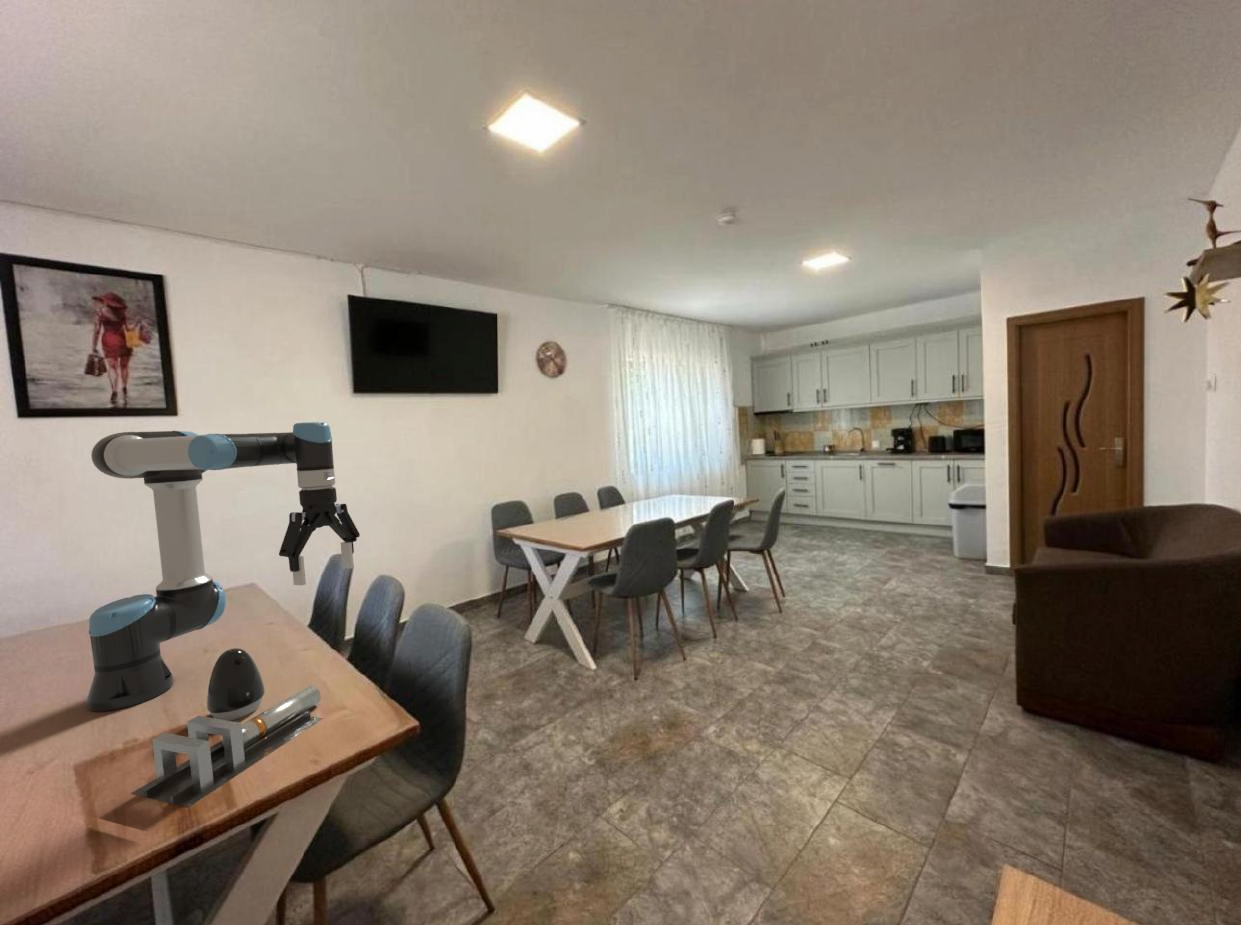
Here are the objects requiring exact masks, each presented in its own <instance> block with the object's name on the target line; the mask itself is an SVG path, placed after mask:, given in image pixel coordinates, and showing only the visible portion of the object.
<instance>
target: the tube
mask: <svg viewBox="0 0 1241 925" xmlns="http://www.w3.org/2000/svg"><path fill="white" fill-rule="evenodd" d="M321 698H322V697H321V692H320V690H319V688H317V687H316V686H315V685H308V686H307V687H305V688H303V689H302V690H300V691H298V692H296V693H294V694H293V695H291V696H289V697H287V698H286V699H284V700H282V701H280V702H278V703H277V704H274V706H271V707H269V708H267V709H266V710H265V711H262V712H261V713H259V714H257V715H256V716H254V717H252V718H250V719H249V720H246V721H245V722H244V723H241V727H242V737H243V747H244V749H245V748H247V747H249V746H250V745H252V744H253V743H255V742H257V741H258V740H260V739H262V738H263V737H265V736H266V735H268V734H270V733H271V732H273V731H274V730H276V729H278V728H279V727H281V726H283V725H284V724H286V723H287V722H289V721H291V720H292V719H294V718H295V717H297V716H299V715H301V714H303V713H304V712H306V711H309V710H310V709H311V708H313V707H314V706H315V707H316V705H318V704H319V703H320V702H321ZM221 741H222V743H223V738H222V739H221ZM223 747H224V743H223Z"/></svg>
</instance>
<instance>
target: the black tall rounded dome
mask: <svg viewBox="0 0 1241 925" xmlns="http://www.w3.org/2000/svg"><path fill="white" fill-rule="evenodd" d="M265 690H266V689H265V685H264V682H263V678H262V675H261V673H260V671H259V669H258V666H257V664H256V662H255V660H254V659H253V657H252V656H251V655H250V654H249V652H247V651H246V650H245V649H243V648H230V649H227V650H225V651H224V652H223V653H221V654H220V656H219V657H218V658H217V660H216V662H215V663H214V666H213V668H212V671H211V675H210V678H209V683H208V688H207V697H206V710H207V711H208V712H209V713H210V715H211V716H212V718H215V719H221V720H227V721H235V720H238V719H241V718H244V717H247V716H248V715H250V714H252V713H253V712H255V711H256V710H258V709H259V707H260V705H261V704H262V701H263V698H264V695H265V692H266V691H265Z"/></svg>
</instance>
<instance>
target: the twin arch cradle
mask: <svg viewBox="0 0 1241 925" xmlns="http://www.w3.org/2000/svg"><path fill="white" fill-rule="evenodd" d="M323 719H324V717H323V718H322V717H317V716H312V714H311V711H310V710H307V711H305V712H304V713H302V714H300V715H299V716H297V717H295V718H294V719H292V720H291V721H289V722H287V723H286V724H284V725H283V726H281V727H279V728H278V729H276V730H274V731H273V732H271V733H270V734H268V735H266V736H265V737H263V738H262V739H260V740H258V741H257V742H255V743H253V744H252V745H250V746H249V747H247V748H245V749H244V747H243V737H242V727H241V725H242V722H238V721H234V720H231V721H227V720H221V719H215V718H213V717H207V716H203V715H198V716H194V718H191V719H190V720H187V721H186V725H187V732H188V733H187V734H188V735H187V736H184V735H180V734H174V733H168V732H164V733H162V734H160V735H158V736H156V737H155V738H152V739H151V740H152V748H153V750H152V751H153V758H154V766H155V776H156V778H155V779H153V780H151V781H150V782H148V783H146V784H145V785H143V786H142V787H139V788H137V789H136V790H134V791H133V792H131V793H130V794H132V795H136V796H139V797H144V798H148V799H153V800H156V801H160V802H164V803H168V804H171V805H176V806H180V807H184V808H191V806H193V805H194V804H196V803H197V802H200V800H202V799H203V798H205V797H207V796H208V795H209V794H211V793H213V792H214V791H216V790H217V789H219V788H221V787H222V786H223V785H225V784H226V783H228V782H230V781H231V780H232V779H234V778H235V777H237V776H238V775H240V774H241V773H243V772H244V771H246V770H248V769H249V768H251V767H252V766H254V765H255V764H256V763H258V762H260V761H261V760H262V759H264V758H265V757H267V756H269V755H270V754H272V753H274V752H275V751H276V750H278V749H279V748H281V747H282V746H283V745H285V744H287V743H289V742H290V741H291V740H293V739H294V738H295V737H297V736H299V735H300V734H302V733H303V732H305V731H306V730H308V729H310V728H311V727H312V726H314V725H316V724H318V722H320V721H322V720H323ZM209 734H210V735H211V734H212V735H217V736H222V739H223V743H224V747H223V743H222V740H220V741H218V742H217V743H215V744H213V745H212V746H210V745H211V744H210V741H209V740H210V738H209ZM176 753H179V754H182V755H183V754H184V755H188V756H189V759H188V760H186V761H184V762H182V763H180V764H179V765H177V758H176Z"/></svg>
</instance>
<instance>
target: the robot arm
mask: <svg viewBox="0 0 1241 925" xmlns="http://www.w3.org/2000/svg"><path fill="white" fill-rule="evenodd" d="M333 450H334V449H333V438H332V432H331V426H330V425H329V423H327V422H325V421H324V422H323V421H316V422H314V421H313V422H312V421H311V422H310V421H309V422H297V423H294V424H293V425H292V431H289V432H262V433H261V432H256V433H208V434H200V435H199V434H198V433H195V432H192V431H185V430H184V431H183V430H171V431H169V430H168V431H167V430H166V431H165V430H164V431H163V430H161V431H159V430H158V431H125V432H116V433H113V434H110V435H107V436H105V437H103V438H101V439H100V440H98V442H96V444H94V446H93V447H92V450H91V460H92V463H93V465H94V467H95V468H96V469H97V470H98V471H99V472H101V473H103V474H105V475H107V476H109V477H113V478H118V479H130V480H131V479H143V484H144V486H146V487H148V488H149V489H151V490H152V491H153V492H152V494H153V501H154V502H153V503H154V511H155V520H156V531H157V537H158V540H157V541H158V548H159V557H160V565H161V566H160V567H161V577H162V580H161V581H160V583H158V585H156V587H155V592H156V594H155V595H156V596H154V595H153V594H148V593H143V594H137V595H132V596H130V597H123V598H120V599H118V600H115V601H112V602H109V603H107V604H104V605H102V606H100V607H99V608H96V609H95V610H94V611H93V612H92V613H91V614H90V616H89V619H88V620H89V621H88V623H89V625H88V629H89V630H88V635H89V637H90V645H91V646H90V648H91V652H92V660H93V667H94V668H93V670H94V676H93V679H92V682H91V684H90V689H89V691H88V696H87V699H86V704H87V709H88V710H89V711H91V712H110V711H115V710H120V709H125V708H128V707H132V706H135V705H139V704H141V703H144V702H146V701H148V700H152V699H153V698H155V697H158V696H160V695H162V694H164V693H166V692H167V691H168V690H170V689H171V688H172V687H173V685H174V677H173V676H174V675H173V673H172V672H171V670H170V667H168V664H166V662H165V661H164V659H163V657H162V655H161V643H163V642H167V641H169V640H173V639H175V638H177V637H181V636H183V635H186V634H189V633H192V632H194V631H198V630H199V631H200V630H202V629H204V628H205V627H207V626H210V625H212V624H215V623H216V622H217V621H218V620H219V619H220V618H221V617H222V616H223V614H224V612H225V609H226V606H227V595H226V593H225V590H224V589H223V586H222V585H221V584H220V583H218V582H216V581H214V580H213V576H211V575H209V574H208V573H206V572H205V570H206V569H205V561H204V551H203V542H202V532H201V522H200V513H199V512H200V511H199V502H198V494H197V486H198V485H199V484H200V483H201V482H202V481H203V474H204V473H205V472H207V471H220V470H227V469H239V468H247V467H250V468H251V467H261V466H262V467H263V466H264V467H265V466H272V465H273V466H274V465H286V464H287V465H288V464H291V465H292V464H296V471H297V472H296V473H297V474H296V475H297V476H296V477H297V487H298V488H300V490H299V491H298V494H299V495H298V496H299V497H298V498H299V504H300V506H301V507H302V511H300V512H294V511H293V512H289V516H288V517H289V522H288V524H287V528H286V531H285V535H284V537H283V540H282V544H281V546H280V549H279V552H278V556H279V557H284V558H288V565H289V570H290V573H292V579H293V580H292V582H293V586H305V585H307V582H306V581H307V580H306V569H305V561H304V556H303V555H301V553H302V552H303V550H304V548H305V547H306V545H307V543H308V541H309V539H310V537H311V536H312V534H313V532H314V531H316V530H317V528H318V529H319V528H320V529H321V528H323V527H329V528H330V529H332V531H333V532H334V533H335V534H336V535H337V536H338V537H339V538H340V539H341V540H342V542H340V552H341V561H342V562H341V563H342V564H341V565H342V569H351V570H352V569H354V568H355V566H354V555H353V554H354V553H355V550H354V547H355V546H354V543H355V542H357V540H358V538H360V537H361V534H360V532H359V530H358V528H357V526H356V524H355V522H354V521H353V519H352V517H351V515H350V513H349V511H348V506H347V505H348V504H346V503H337V500H338V498H337V488H336V487H335V486H334V485H335V484H336V478H335V477H336V476H335V467H334V466H335V465H334V464H335V463H334V455H333V454H334V451H333Z"/></svg>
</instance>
